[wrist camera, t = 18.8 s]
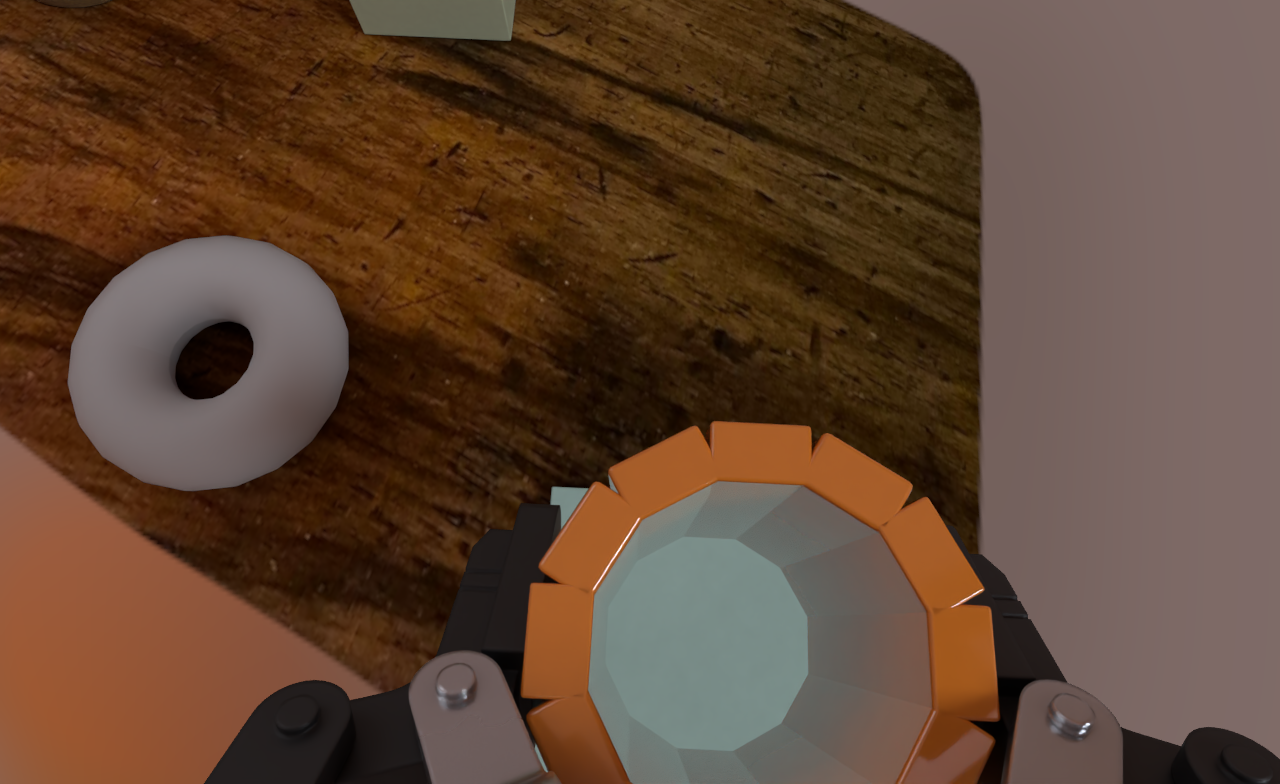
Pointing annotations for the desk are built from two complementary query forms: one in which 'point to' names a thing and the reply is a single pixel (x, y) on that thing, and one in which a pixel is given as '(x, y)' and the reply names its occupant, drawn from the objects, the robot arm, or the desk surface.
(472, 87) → the desk surface
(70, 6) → the plant pot
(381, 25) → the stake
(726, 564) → the mat
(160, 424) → the donut
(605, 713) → the pen holder
